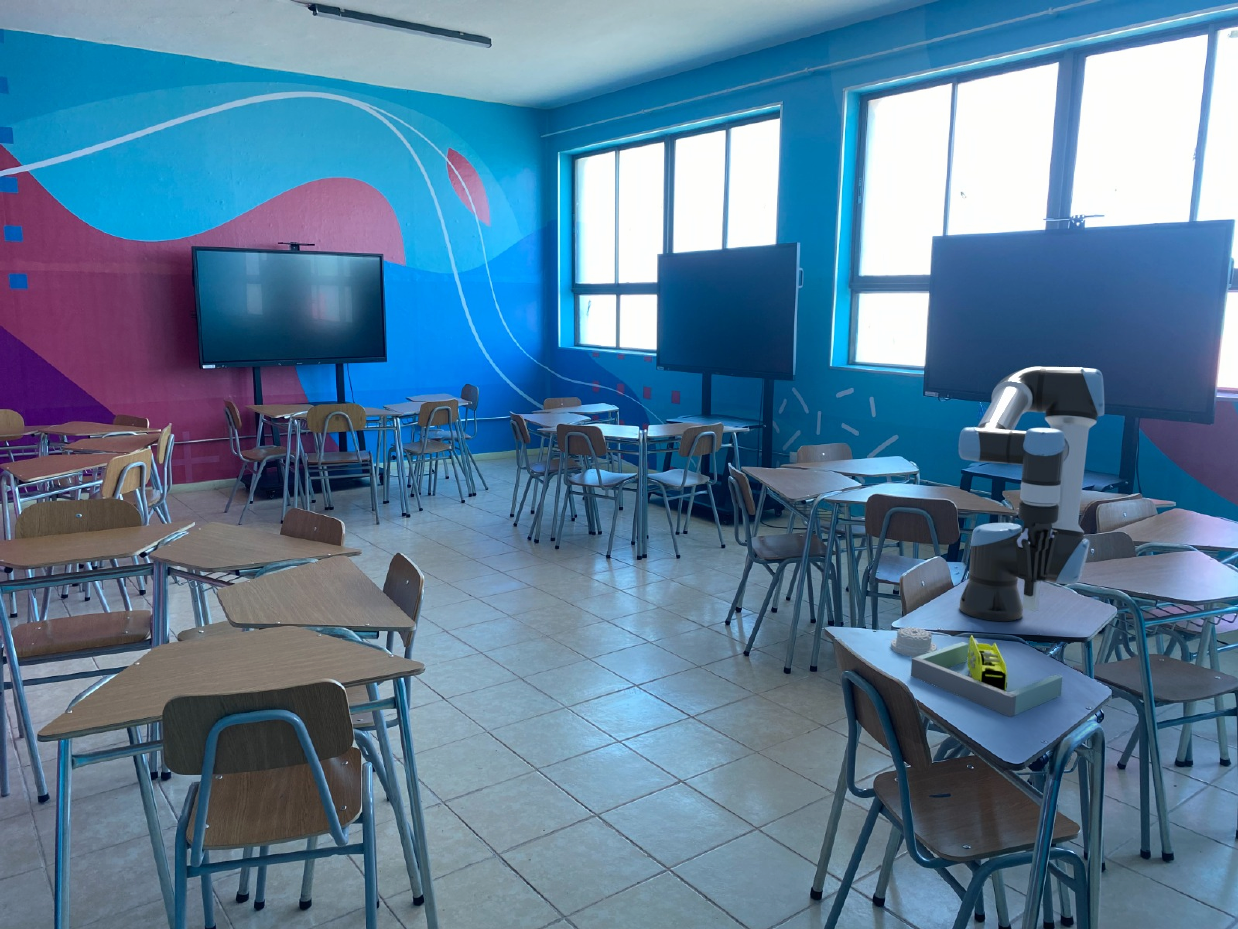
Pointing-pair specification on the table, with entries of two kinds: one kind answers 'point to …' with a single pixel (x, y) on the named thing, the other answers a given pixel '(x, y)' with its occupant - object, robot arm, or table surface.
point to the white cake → (913, 642)
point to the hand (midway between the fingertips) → (1030, 609)
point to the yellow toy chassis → (987, 664)
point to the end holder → (1009, 704)
